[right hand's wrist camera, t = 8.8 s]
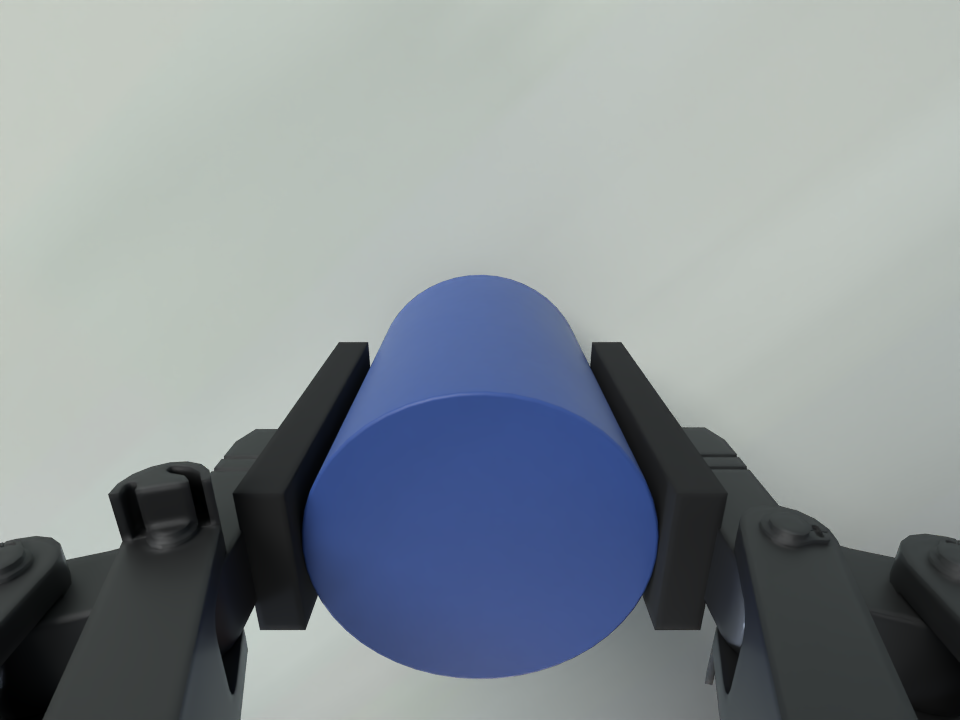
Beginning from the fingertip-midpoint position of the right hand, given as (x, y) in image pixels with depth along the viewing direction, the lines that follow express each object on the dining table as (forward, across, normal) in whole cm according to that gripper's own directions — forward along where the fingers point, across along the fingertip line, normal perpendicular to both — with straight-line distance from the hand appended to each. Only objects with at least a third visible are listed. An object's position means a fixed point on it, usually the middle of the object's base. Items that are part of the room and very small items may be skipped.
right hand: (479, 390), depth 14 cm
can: (+1, 0, 0) cm, 1 cm away
